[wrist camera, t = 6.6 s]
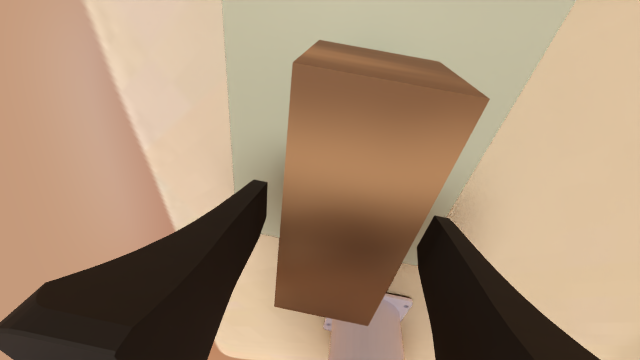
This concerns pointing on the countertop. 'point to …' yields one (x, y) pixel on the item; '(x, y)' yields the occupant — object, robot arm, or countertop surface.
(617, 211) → the countertop surface
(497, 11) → the peg base
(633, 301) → the countertop surface
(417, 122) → the shelf block
